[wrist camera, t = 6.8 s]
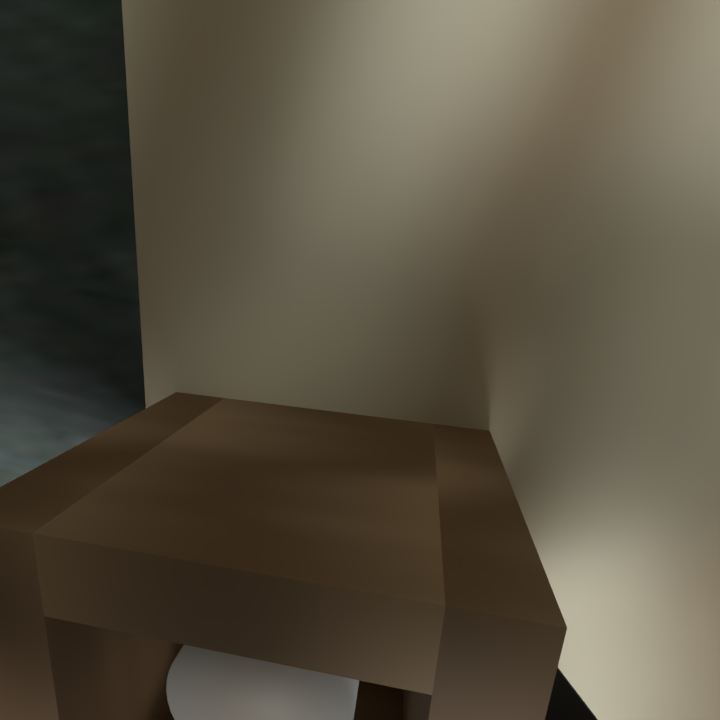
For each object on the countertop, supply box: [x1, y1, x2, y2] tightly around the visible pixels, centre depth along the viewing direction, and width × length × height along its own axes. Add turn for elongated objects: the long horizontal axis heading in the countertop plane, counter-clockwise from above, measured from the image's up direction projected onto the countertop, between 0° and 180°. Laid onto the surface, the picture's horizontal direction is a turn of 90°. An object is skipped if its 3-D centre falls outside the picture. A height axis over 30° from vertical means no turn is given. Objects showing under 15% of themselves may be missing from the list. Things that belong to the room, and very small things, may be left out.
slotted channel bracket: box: [0, 392, 567, 720], centre depth 7 cm, size 7×7×4 cm
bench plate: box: [122, 0, 720, 720], centre depth 7 cm, size 15×19×5 cm
